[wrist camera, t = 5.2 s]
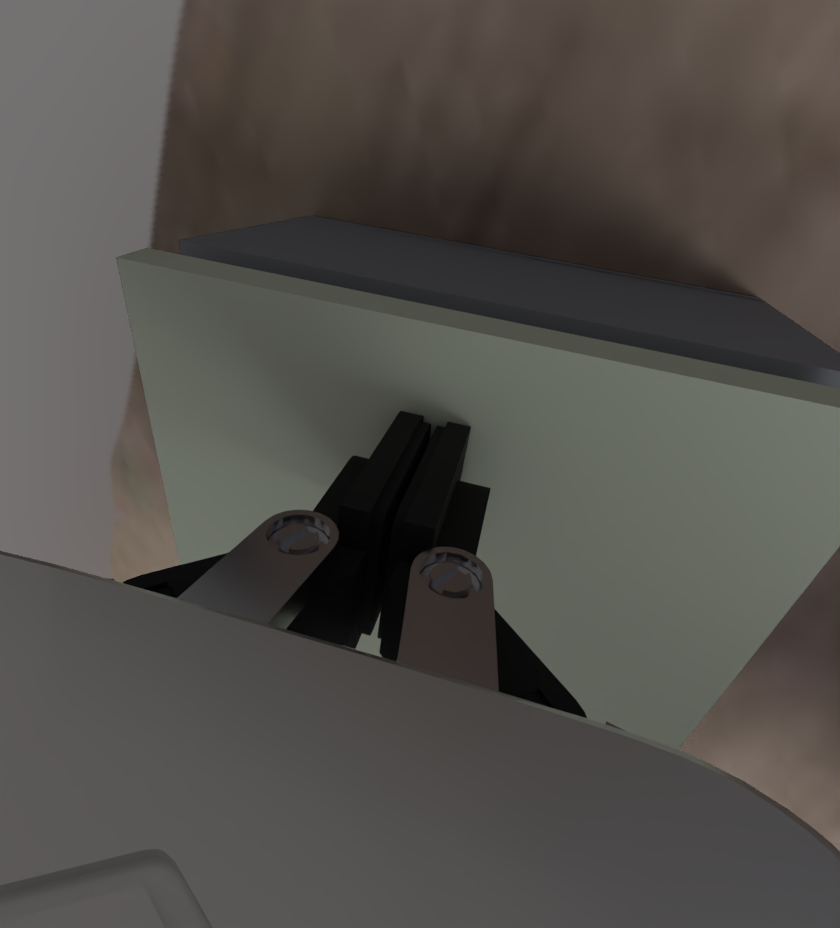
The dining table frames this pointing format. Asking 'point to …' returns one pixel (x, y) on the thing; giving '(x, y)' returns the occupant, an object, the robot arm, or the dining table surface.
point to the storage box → (531, 293)
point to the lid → (508, 466)
